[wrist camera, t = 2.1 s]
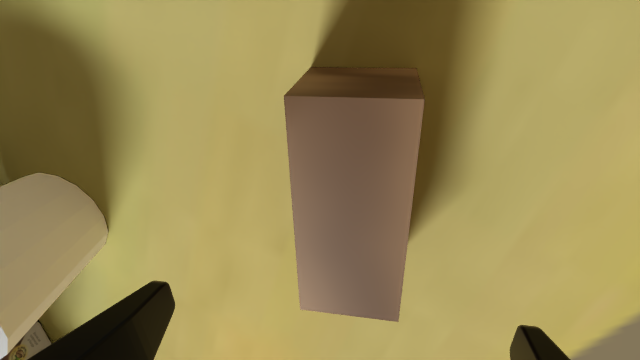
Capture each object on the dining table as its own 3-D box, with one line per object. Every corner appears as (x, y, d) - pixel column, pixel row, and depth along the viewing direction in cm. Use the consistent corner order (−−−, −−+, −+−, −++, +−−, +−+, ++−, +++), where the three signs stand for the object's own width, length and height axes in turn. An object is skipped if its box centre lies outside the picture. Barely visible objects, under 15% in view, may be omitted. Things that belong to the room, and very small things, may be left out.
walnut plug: (319, 289, 20) (303, 354, 16) (311, 67, 14) (284, 95, 10) (392, 298, 19) (392, 368, 16) (416, 68, 13) (424, 99, 10)
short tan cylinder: (-4, 213, 22) (-158, 305, 16) (20, 137, 18) (-163, 215, 12) (96, 277, 23) (-10, 384, 17) (136, 217, 20) (21, 322, 14)
